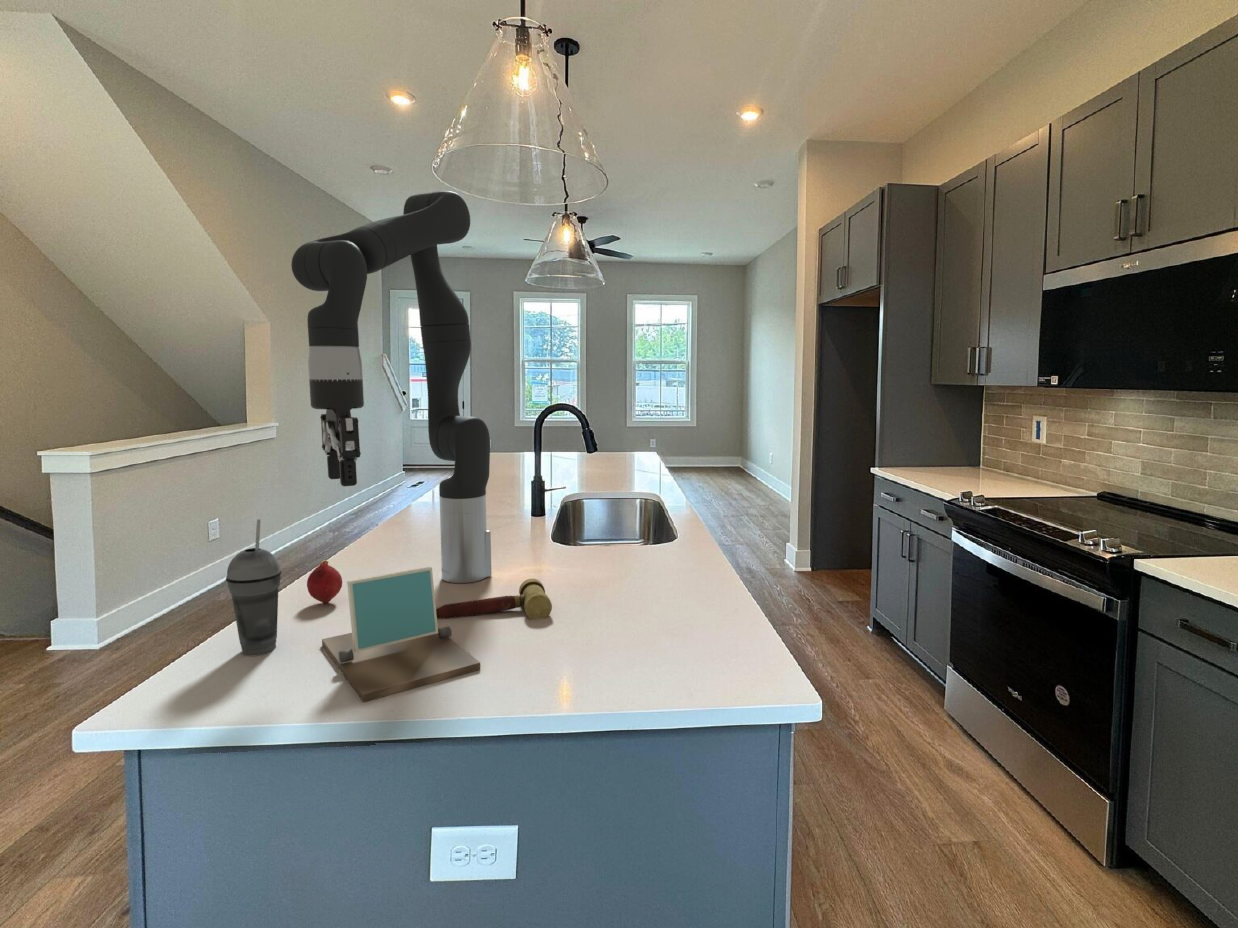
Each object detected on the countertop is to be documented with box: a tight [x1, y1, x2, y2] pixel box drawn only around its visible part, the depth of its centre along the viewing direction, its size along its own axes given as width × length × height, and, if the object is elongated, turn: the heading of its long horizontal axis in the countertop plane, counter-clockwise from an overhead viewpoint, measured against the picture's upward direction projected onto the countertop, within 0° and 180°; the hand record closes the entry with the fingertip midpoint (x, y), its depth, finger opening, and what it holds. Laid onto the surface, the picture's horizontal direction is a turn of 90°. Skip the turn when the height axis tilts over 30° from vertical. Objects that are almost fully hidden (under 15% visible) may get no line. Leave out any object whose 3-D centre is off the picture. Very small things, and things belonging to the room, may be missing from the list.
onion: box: [306, 559, 343, 604], centre depth 118 cm, size 6×6×8 cm
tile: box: [346, 566, 439, 652], centre depth 96 cm, size 12×10×1 cm
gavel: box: [436, 578, 553, 620], centre depth 114 cm, size 21×5×10 cm
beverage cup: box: [225, 518, 282, 657], centre depth 97 cm, size 7×7×20 cm
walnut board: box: [321, 626, 481, 703], centre depth 96 cm, size 16×22×3 cm
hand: (342, 482), depth 102 cm, fingers open, 8 cm apart
